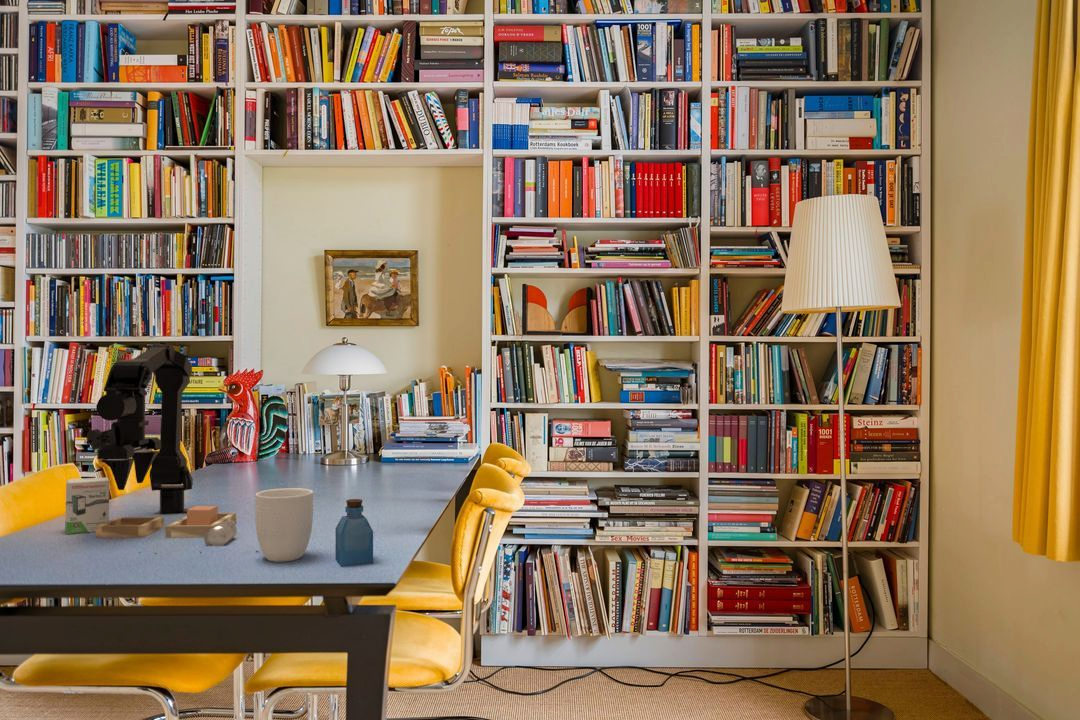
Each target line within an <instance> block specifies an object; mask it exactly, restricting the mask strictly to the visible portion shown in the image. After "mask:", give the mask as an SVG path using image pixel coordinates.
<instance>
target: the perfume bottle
mask: <svg viewBox="0 0 1080 720" xmlns="http://www.w3.org/2000/svg"><path fill="white" fill-rule="evenodd" d="M345 502H346V506H345V507H344V508H345V510H344V511H345V513H346V515H342V516H341V518H340V519H339V521H338V523H337V525H336V527H335V545H334V546H335V547H334V548H335V555H334V557H335V558H334V559H335V561H336V563H337V564H338V566H340V567H353V566H361V565H362V566H363V565H372V564H374V531H373V528H372V527H371V524H370V522H369V521H368V518H366V516H364V514H363V512H364V505H362V504H363V499H360V498H352V499H351V498H349V499H346V500H345Z"/></svg>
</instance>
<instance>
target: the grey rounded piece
mask: <svg viewBox="0 0 1080 720" xmlns="http://www.w3.org/2000/svg"><path fill="white" fill-rule="evenodd" d="M237 530H238V529H237V526H236V524H233V523H232V522H229V521H224V522H222V523H220V524H218V525H216V526H215V527H213V528H211V529H210V530H208V531H207V532H206V534H205V536H204V538H203V541H204V544H205V546H207V547H211V546H212V547H217V546H218V547H222V546H225V545H226V544H228V543H229V542H231V541H232V540H234V539H235V538H236V536H237V533H238V531H237Z"/></svg>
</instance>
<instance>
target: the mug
mask: <svg viewBox="0 0 1080 720" xmlns="http://www.w3.org/2000/svg"><path fill="white" fill-rule="evenodd" d="M254 505H255V506H254V507H255V511H254V516H255V518H254V519H255V520H254V521H255V522H254V523H255V531H256V537H257V542H258V545H259V548H260V550H261V552H262V554H263V556H264V557H265V559H267V561H270V562H276V563H283V562H286V563H287V562H292V561H296V560H299V559H300V558H302V556H303V555H304V554H305V552H306V550H307V548H308V546H309V543H310V539H311V535H312V528H313V521H314V491H313V490H311V489H308V488H301V487H300V488H299V487H295V488H294V487H293V488H292V487H289V488H285V487H284V488H273V489H267V490H261V491H258V492H256V494H255V504H254Z"/></svg>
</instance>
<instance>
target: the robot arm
mask: <svg viewBox="0 0 1080 720" xmlns="http://www.w3.org/2000/svg"><path fill="white" fill-rule="evenodd" d="M108 373H109V374H108V375H107V379H106V381H105V385H104V387H103V392H105V394H104V395H102V396H101V397H99V399H98V401H97V403H96V407H95V408H96V412H97V414H98V416H99V417H100V418H101V419H103V420H106V421H113V422H112V423H111V425H110V427H111V428H110V429H108V430H104V431H101V430H99V428H96V429H92V430H89V431H87V437H85V438H86V441H85V443H86V445H89V446H90V447H91V449H92V451H97V452H96V453H97V455H96V459H97V460H100V462H101V463H103V464H105V465H107V466H108V467H109V468H110V470H111V472H112V476H113V478H114V481H115V484H116V487H117V489H118V491H124V490H125V487H126V485H127V482H128V480H129V476H130V472H131V470H132V467H133V465H134V472H135V479H136V484H142V483H143V482H144V481H145V479H146V476H147V474H148V472H149V481H150V488H151V491H152V492H153V491H159V510H158V511H156V512H155V513H154V515H168V514H169V515H174V514H175V515H176V514H177V515H179V514H185V513H187V510H188V509H189V508H185V491H188V490H192V489H193V485H194V483H193V480H194V479H193V476H192V473H191V472H190V469H189V467H188V461H187V458H186V456H185V454H184V453H183V451H182V450H181V435H182V408H183V404H182V403H183V393H184V391H185V389H186V388H187V387H188V385H189V384H190V378H191V376H192V373H193V366H192V363H191V362H190V360H189V358H188V357H187V356H186V355H185V354H183V353H182V352H179V351H178V350H176V349H175V347H174V345H170V344H153V345H150V346H149V348H148V349H147V350H146V351H144V352H142V353H141V354H139V355H138V356H136V357H134V358H131V359H130V358H129V359H128V358H127V359H120V360H116V361H115V362H114V363H113V364H112V366H111V368H110V370H109V372H108ZM153 375H154V381H155V384H156V386H157V387H158V389H159V390H160V392H161V407H160V408H161V409H160V410H161V411H160V438H159V437H158V436H157V437H156V436H155V437H153V436H152V437H149V436H148V437H147V436H146V426H149V423H150V422H149V420H146V396H147V395H148V392H147V390H146V389H147V388H148V386H149V384H150V381H151V380H152V379H153ZM115 420H116V421H115Z"/></svg>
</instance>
